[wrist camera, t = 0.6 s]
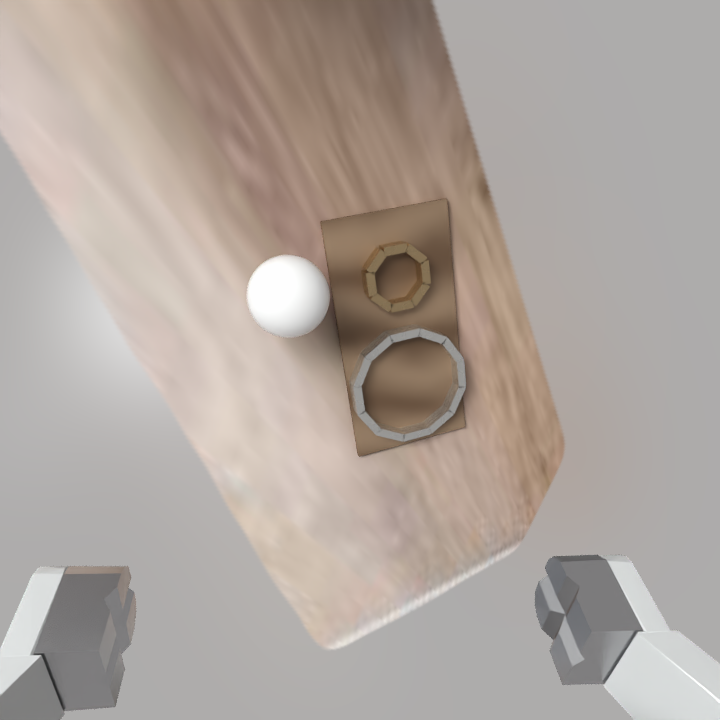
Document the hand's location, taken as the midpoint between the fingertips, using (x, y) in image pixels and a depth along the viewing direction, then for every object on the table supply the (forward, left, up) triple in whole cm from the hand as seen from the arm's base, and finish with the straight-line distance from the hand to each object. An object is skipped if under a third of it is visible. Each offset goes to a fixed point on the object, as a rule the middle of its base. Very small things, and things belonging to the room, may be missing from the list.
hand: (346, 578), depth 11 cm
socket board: (+11, +15, -42) cm, 46 cm away
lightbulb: (+3, +4, -43) cm, 43 cm away
